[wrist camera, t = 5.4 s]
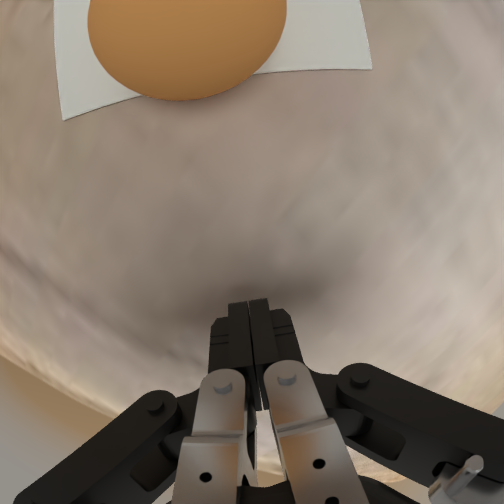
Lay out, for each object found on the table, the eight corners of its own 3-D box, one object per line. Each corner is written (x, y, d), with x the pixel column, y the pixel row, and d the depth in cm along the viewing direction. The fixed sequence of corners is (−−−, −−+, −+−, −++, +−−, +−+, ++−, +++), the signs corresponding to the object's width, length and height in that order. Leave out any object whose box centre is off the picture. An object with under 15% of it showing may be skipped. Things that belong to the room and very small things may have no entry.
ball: (55, -63, 3) (59, 120, 5) (278, -114, 3) (335, 59, 5) (116, 2, 8) (133, 126, 10) (256, -28, 8) (284, 94, 10)
